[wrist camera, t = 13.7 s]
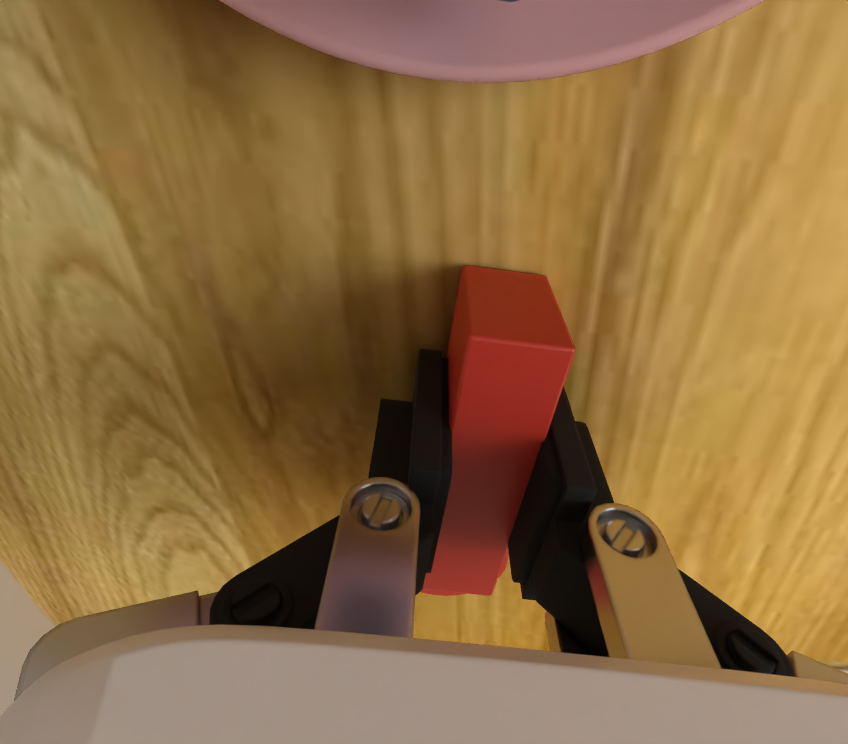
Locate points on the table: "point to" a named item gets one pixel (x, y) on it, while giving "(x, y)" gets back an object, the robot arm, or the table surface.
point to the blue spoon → (509, 0)
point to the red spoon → (495, 418)
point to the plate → (489, 33)
